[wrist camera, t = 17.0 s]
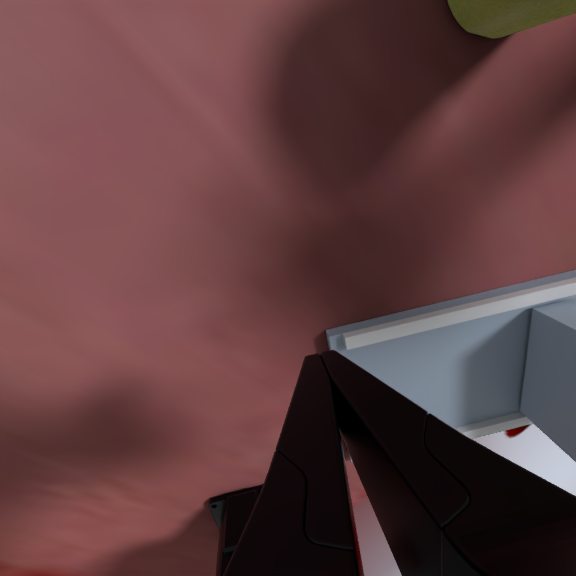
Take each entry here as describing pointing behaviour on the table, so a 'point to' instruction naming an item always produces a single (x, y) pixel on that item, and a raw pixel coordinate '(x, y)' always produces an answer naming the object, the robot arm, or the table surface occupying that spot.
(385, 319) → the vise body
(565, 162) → the table surface
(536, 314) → the block
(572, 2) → the plant pot
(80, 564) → the table surface
